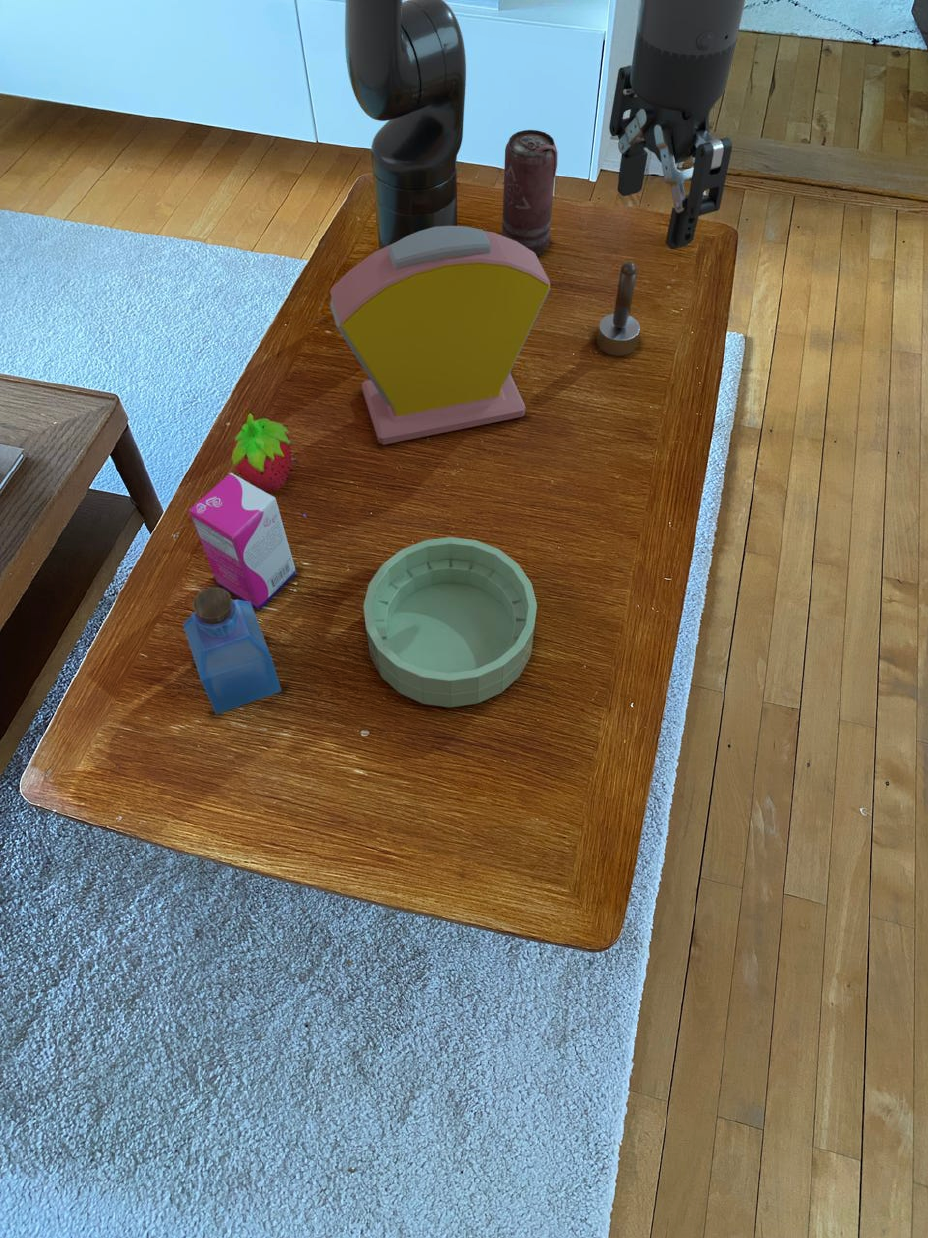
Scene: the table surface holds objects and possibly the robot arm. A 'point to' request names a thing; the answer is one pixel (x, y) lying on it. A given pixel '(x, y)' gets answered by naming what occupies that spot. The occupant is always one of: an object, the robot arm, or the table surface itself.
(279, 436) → the strawberry
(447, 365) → the pink and yellow fan
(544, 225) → the can
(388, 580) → the bowl
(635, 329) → the peg on round base
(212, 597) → the perfume bottle
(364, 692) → the table surface
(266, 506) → the supplement box
